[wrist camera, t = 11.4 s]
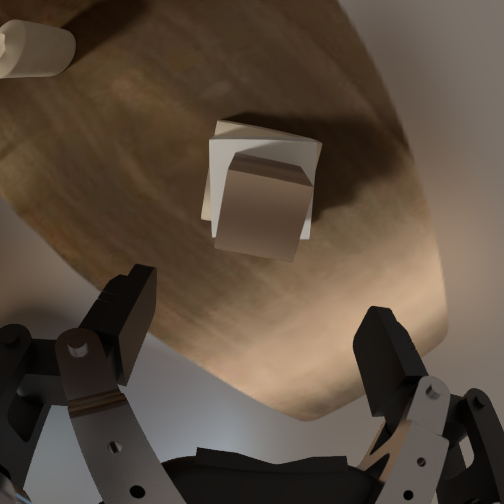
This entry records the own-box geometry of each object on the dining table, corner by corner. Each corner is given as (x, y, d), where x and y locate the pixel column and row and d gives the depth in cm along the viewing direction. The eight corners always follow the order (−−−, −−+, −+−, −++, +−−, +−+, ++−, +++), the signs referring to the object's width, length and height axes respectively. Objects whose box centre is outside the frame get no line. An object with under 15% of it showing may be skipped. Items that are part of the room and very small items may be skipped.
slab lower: (221, 119, 26) (217, 120, 24) (316, 139, 27) (322, 143, 24) (206, 208, 30) (200, 218, 28) (293, 225, 31) (296, 237, 28)
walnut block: (235, 152, 22) (227, 169, 17) (300, 166, 22) (314, 187, 17) (223, 213, 24) (213, 247, 19) (285, 225, 25) (292, 262, 19)
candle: (71, 20, 20) (11, 5, 11) (81, 59, 22) (18, 54, 13) (35, 47, 21) (-27, 44, 12) (44, 85, 23) (-20, 91, 14)
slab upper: (214, 135, 24) (209, 139, 21) (310, 138, 24) (317, 142, 21) (216, 223, 28) (212, 236, 25) (304, 225, 28) (309, 239, 25)
